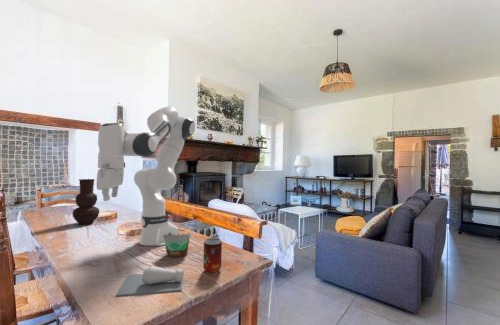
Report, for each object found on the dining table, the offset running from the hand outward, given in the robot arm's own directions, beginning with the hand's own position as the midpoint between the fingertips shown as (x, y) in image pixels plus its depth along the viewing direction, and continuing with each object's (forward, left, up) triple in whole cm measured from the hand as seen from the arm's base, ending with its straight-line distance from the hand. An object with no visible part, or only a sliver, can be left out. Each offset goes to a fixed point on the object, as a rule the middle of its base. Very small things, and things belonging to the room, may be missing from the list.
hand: (110, 198), depth 97 cm
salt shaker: (-4, +22, -24) cm, 33 cm away
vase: (-13, -88, -28) cm, 93 cm away
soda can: (-28, +29, -28) cm, 49 cm away
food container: (-26, +6, -28) cm, 39 cm away
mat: (-7, +23, -28) cm, 37 cm away
